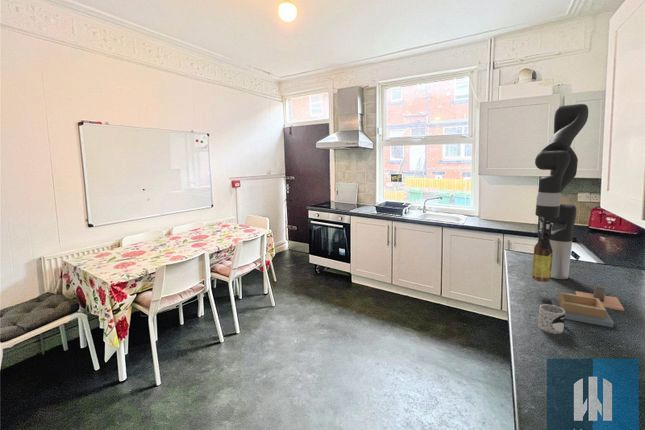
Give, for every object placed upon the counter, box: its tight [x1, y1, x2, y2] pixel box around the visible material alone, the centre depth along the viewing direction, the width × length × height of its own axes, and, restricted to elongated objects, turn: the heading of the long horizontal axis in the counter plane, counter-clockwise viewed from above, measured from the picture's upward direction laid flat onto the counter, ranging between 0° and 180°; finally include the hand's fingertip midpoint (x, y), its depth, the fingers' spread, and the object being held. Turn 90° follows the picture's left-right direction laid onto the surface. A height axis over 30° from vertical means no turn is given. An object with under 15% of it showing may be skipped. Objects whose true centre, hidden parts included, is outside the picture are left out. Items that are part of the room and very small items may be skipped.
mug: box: [537, 304, 566, 335], centre depth 104 cm, size 10×7×7 cm
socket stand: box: [550, 291, 615, 328], centre depth 113 cm, size 15×15×4 cm
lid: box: [575, 285, 625, 312], centre depth 122 cm, size 12×12×6 cm
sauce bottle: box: [531, 229, 553, 283], centre depth 127 cm, size 6×6×20 cm
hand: (543, 246), depth 127 cm, fingers closed on sauce bottle, 5 cm apart
